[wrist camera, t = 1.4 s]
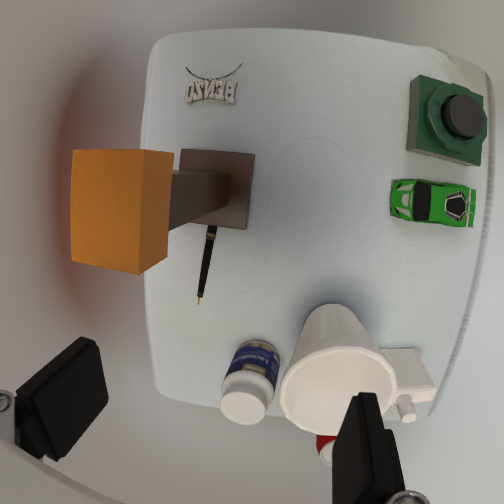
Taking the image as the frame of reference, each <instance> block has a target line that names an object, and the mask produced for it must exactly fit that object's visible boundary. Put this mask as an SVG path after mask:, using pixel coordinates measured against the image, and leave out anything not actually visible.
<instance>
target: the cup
mask: <svg viewBox="0 0 504 504" xmlns="http://www.w3.org/2000/svg"><path fill="white" fill-rule="evenodd" d="M397 387H398V386H397V381H396V375H395V370H394V368H393V367H392V365H391V363H390V362H389V360H388V358H387V357H386V356H385V355H384V354H383V353H382V352H381V351H380V350H379V348H378V347H377V345H376V344H375V343H374V341H373V340H372V338H371V337H370V336H369V334H368V333H367V331H366V330H365V328H364V327H363V326H362V324H361V323H360V322H359V320H358V319H357V317H356V316H355V315H354V314H353V312H352V311H351V310H350V309H349V308H347V307H345V306H343V305H340V304H326V305H323V306H320V307H318V308H316V309H315V310H314V311H313V312H311V313H310V315H309V316H308V318H307V320H306V322H305V324H304V327H303V330H302V332H301V335H300V338H299V340H298V343H297V346H296V348H295V351H294V353H293V356H292V358H291V361H290V364H289V366H288V367H287V369H286V370H285V372H284V375H283V378H282V380H281V383H280V393H279V403H280V406H281V408H282V410H283V412H284V414H285V416H286V418H288V419H289V420H290V421H291V422H293V423H294V424H295V425H296V426H298V427H299V428H300V429H302V430H305V431H308V432H311V433H315V434H318V435H328V436H337V435H338V432H339V430H340V427H341V425H342V422H343V420H344V417H345V415H346V412H347V409H348V407H349V404H350V401H351V398H352V396H357V395H358V393H359V392H371V393H376V395H377V399H378V403H379V407H380V411H381V416H382V415H383V414H384V413H385V412H386V411H387V410H388V409H389V407H390V406H391V405H392V403H393V400H394V397H395V394H396V391H397Z"/></svg>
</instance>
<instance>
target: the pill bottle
mask: <svg viewBox="0 0 504 504" xmlns="http://www.w3.org/2000/svg"><path fill="white" fill-rule="evenodd" d="M279 367H280V358H279V355H278V353H277V351H276V350H275V349H274V348H273V347H272V346H271V345H269V344H267V343H265V342H262V341H249V342H246V343H244V344H243V345H241V346H240V347H239V348H238V349H237V351H236V353H235V355H234V358H233V360H232V362H231V365H230V367H229V369H228V371H227V374H226V376H225V378H224V381H223V384H222V394H223V396H222V398H221V401H220V409H221V411H222V413H223V414H224V416H226V417H227V418H228V419H229V420H231V421H232V422H235V423H237V424H241V425H252V424H255V423H258V422H260V421H261V420H262V419H263V417H264V416H265V413H266V410H267V407H268V406H269V405H270V403H271V402H272V400H273V397H274V393H275V388H276V383H277V377H278V372H279Z"/></svg>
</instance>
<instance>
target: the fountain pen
mask: <svg viewBox="0 0 504 504" xmlns="http://www.w3.org/2000/svg"><path fill="white" fill-rule="evenodd" d="M216 232H217V226H213V225H208V229H207V233H206V243H205V248H204V254H203V259H202V266H201V273H200V280H199V287H198V295H197V296H198V305H199V300H200V297H203V293H204V288H205V284H206V279H207V274H208V269H209V265H210V260H211V255H212V249H213V244H214V240H215V237H216Z"/></svg>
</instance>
